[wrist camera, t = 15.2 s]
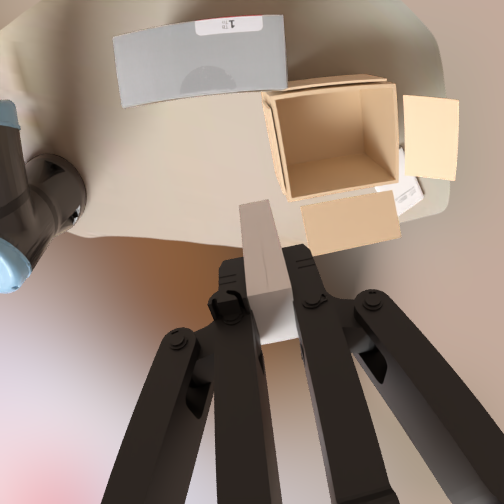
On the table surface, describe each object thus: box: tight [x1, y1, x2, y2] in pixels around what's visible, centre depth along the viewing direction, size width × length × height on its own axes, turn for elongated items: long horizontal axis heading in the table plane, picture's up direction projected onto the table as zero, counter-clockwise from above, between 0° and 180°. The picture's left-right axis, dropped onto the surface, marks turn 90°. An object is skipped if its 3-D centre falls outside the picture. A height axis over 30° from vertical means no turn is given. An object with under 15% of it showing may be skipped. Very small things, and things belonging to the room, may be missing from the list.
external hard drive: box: [375, 145, 424, 216], centre depth 53 cm, size 2×8×12 cm
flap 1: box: [300, 190, 401, 256], centre depth 40 cm, size 13×7×1 cm
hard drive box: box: [113, 15, 288, 109], centre depth 31 cm, size 16×8×20 cm, turn 93°
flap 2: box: [403, 95, 459, 181], centre depth 34 cm, size 7×11×1 cm, turn 11°
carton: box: [261, 74, 399, 202], centre depth 41 cm, size 16×15×12 cm
